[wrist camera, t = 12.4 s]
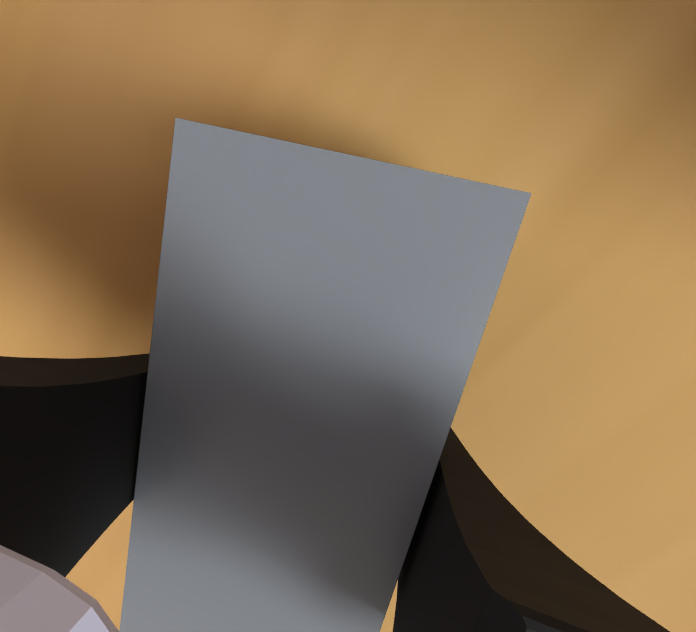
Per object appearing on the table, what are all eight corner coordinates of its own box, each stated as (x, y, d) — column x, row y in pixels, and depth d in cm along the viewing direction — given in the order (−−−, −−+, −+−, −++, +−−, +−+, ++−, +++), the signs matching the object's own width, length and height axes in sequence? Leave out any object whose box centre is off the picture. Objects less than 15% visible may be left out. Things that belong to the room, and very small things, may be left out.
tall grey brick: (475, 221, 11) (531, 193, 5) (372, 548, 14) (336, 756, 8) (295, 180, 12) (174, 117, 6) (234, 495, 15) (117, 649, 9)
